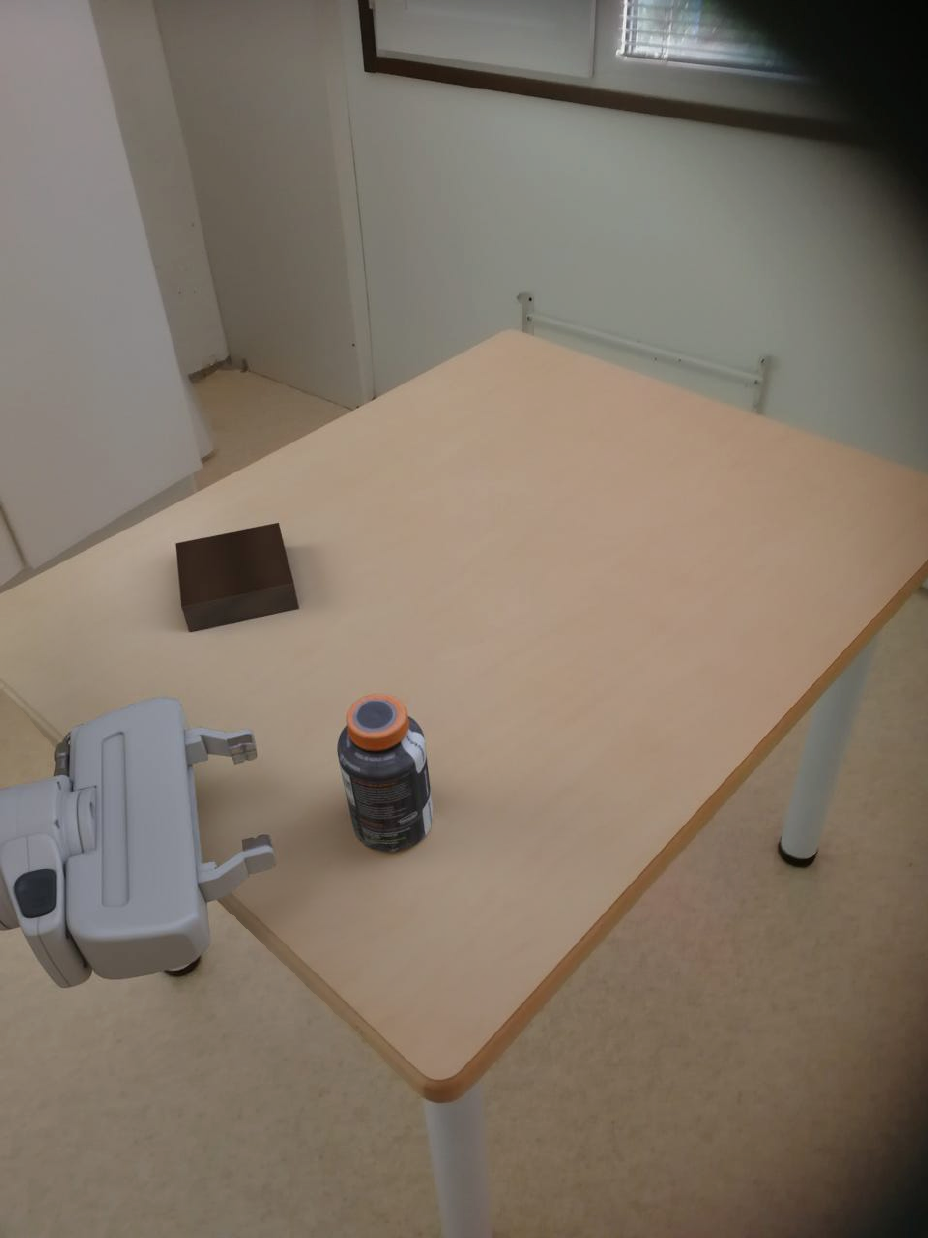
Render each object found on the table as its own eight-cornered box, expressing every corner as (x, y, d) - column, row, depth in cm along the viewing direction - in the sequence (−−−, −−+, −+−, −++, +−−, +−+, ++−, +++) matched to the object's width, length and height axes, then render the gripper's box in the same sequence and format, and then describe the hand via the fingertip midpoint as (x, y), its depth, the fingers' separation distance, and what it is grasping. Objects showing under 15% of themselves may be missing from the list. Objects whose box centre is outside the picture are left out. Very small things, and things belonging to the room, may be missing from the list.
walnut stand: (189, 632, 86) (181, 607, 84) (182, 567, 93) (175, 543, 91) (299, 608, 88) (293, 583, 86) (284, 547, 95) (278, 522, 93)
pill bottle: (449, 809, 70) (440, 701, 62) (403, 868, 66) (386, 762, 59) (384, 776, 72) (367, 669, 65) (335, 832, 69) (311, 726, 61)
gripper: (69, 761, 71) (254, 717, 74) (62, 1015, 56) (294, 949, 59) (41, 702, 67) (237, 658, 70) (25, 960, 52) (276, 892, 55)
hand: (264, 793), depth 64 cm, fingers open, 8 cm apart
